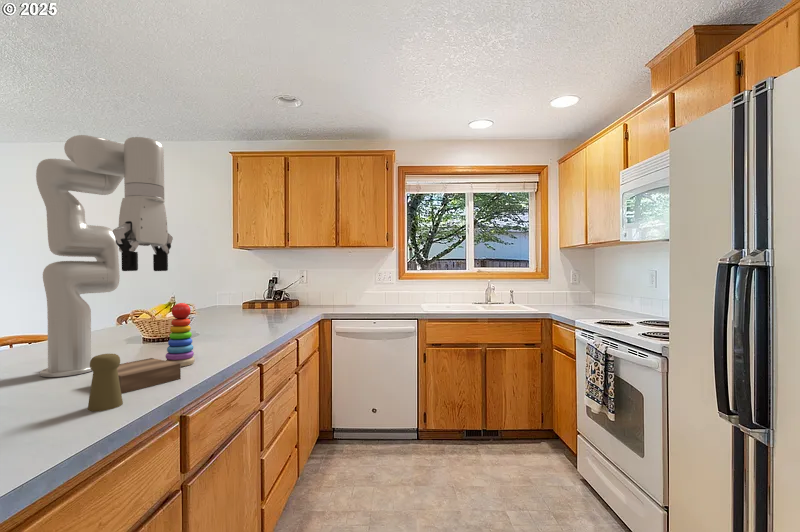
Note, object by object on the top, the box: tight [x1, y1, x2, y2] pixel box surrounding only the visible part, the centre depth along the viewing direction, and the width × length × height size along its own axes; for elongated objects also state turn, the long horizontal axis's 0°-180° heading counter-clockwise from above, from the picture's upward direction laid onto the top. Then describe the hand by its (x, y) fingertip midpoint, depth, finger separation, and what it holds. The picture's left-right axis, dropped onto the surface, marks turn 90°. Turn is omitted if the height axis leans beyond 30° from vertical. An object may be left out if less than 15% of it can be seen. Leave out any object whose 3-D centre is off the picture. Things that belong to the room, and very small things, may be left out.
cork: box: [87, 353, 124, 412], centre depth 83 cm, size 6×6×11 cm
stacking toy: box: [165, 302, 195, 367], centre depth 120 cm, size 8×8×19 cm
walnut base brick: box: [117, 357, 182, 395], centre depth 101 cm, size 14×14×4 cm
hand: (146, 270), depth 88 cm, fingers open, 9 cm apart
